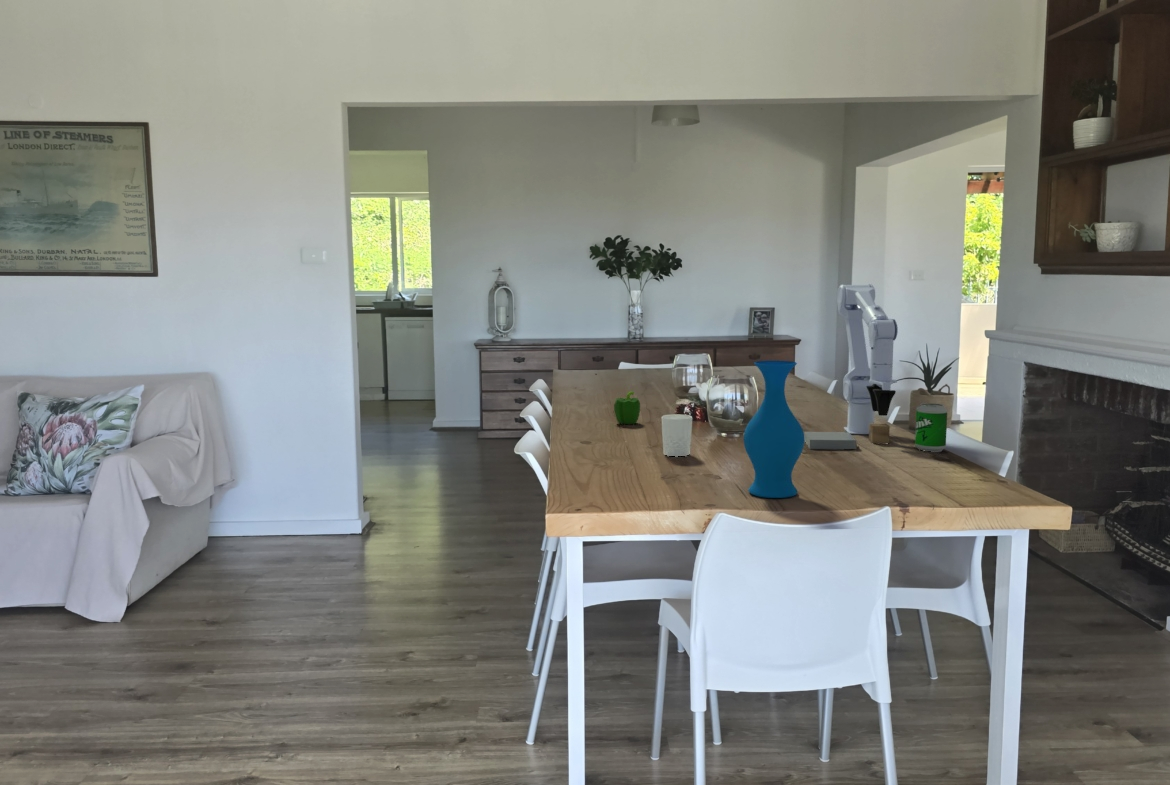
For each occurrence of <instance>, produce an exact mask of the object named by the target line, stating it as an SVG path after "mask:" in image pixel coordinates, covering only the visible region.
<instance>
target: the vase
mask: <svg viewBox="0 0 1170 785" xmlns="http://www.w3.org/2000/svg"><path fill="white" fill-rule="evenodd" d="M753 364H754V365H755V366H756V368H758V370H759V371H760V373H761V375H762V376H763V380H764V390H765V391H764V396H763V400H762V402H761V404H760V406H759V408H758V410H757V411H756V412H755V414H754V415H753V416H752V417H751V419H750V420H749V422H748V423H747V425H746V427H745V429H744V433H743V445H744V449H745V452H746V455H747V456H748V458H749V460H750V462H751V464H752V467H753V470H754V479H753V482H752V484H750V487H749V488H748V493H749V494H750V495H752V496H755V497H759V498H764V499H765V498H767V499H786V498H792V497H795V496H796V495H797V494H798V489H797V488H796V486H795V485H794V484H793V481H792V474H793V470H794V467H795V465H796V463H797V461H798V460H799V458H800V457H801V455H802V453H803V450H804V446H805V441H804V440H805V439H804V432H805V431H804V430H803V427H802V426H801V423H800V422H799V420H798V419H797V417H796V416H795V415H794V414H793V412H792V411H791V409H790V406H789V404H788V402H787V399H786V393H785V392H786V391H785V386H786V380H787V377H788V376H789V374H790V373H791V371H792V370H793V369H794V367H795V366H796V365H797V364H798V363H797V361H796V362H795V361H789V360H760V361H754V362H753Z"/></svg>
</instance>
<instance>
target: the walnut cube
mask: <svg viewBox="0 0 1170 785" xmlns="http://www.w3.org/2000/svg"><path fill="white" fill-rule="evenodd" d="M890 427H891V426H890V425H889V424H887V422H886V423H880V422H877V423H876V422H874V423H869V434H868V442H869V441H870V444H872V443H889V444H890Z"/></svg>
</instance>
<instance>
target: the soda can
mask: <svg viewBox="0 0 1170 785" xmlns="http://www.w3.org/2000/svg"><path fill="white" fill-rule="evenodd" d="M915 409H916V411H915V413H916V414H915V436H914V438H915V439H914V440H915V441H914V446H915V447H916V448H917V449H921V450H925V451H931V452H930V453H941V452H943V450H944V449H945V448H947V424H948V409H947V408H946V407H945V405H944V404H943V403H941V404H940V403H933V402H932V403H931V402H930V403H929V402H927V403H926V402H925V403H923V402H922V403H920V404H919V405H918V406H917V407H916V408H915Z"/></svg>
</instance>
